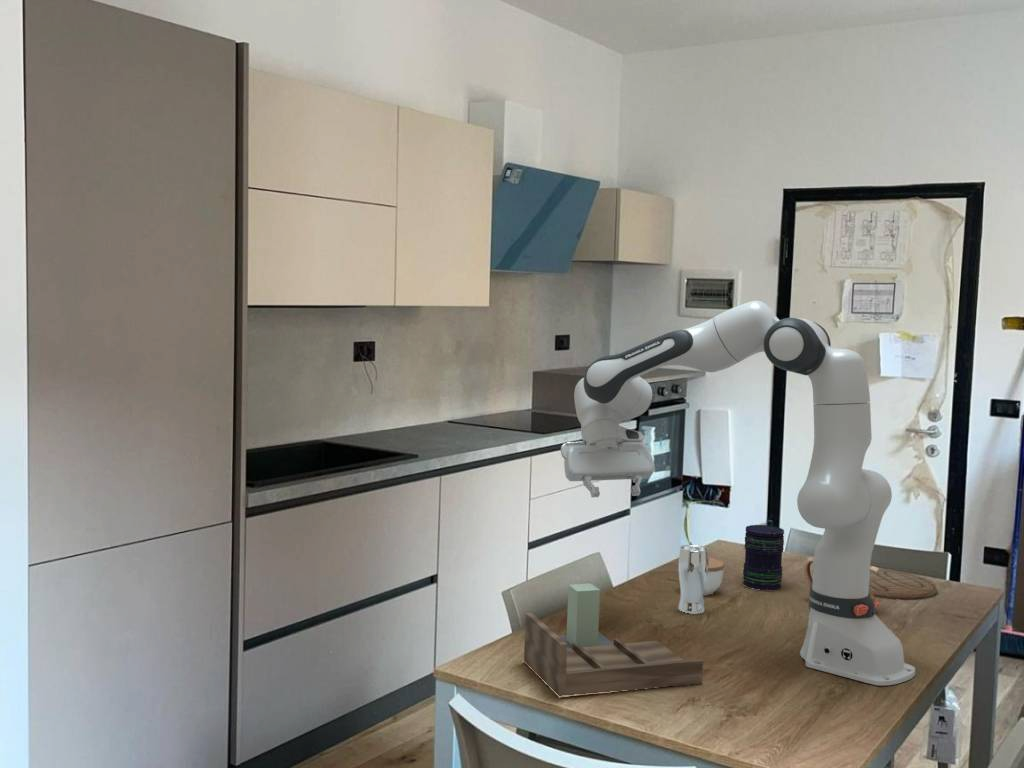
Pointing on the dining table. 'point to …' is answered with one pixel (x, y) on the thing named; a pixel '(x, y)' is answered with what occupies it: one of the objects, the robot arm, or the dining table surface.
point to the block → (583, 614)
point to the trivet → (900, 585)
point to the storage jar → (763, 557)
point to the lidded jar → (714, 576)
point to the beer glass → (692, 577)
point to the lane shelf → (604, 663)
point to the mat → (601, 640)
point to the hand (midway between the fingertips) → (616, 495)
